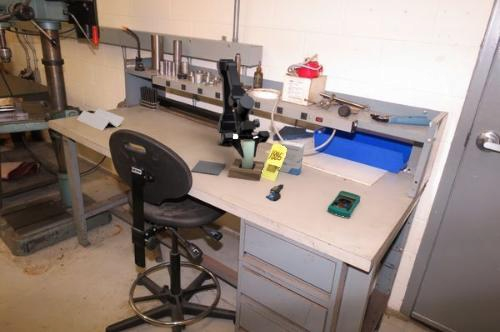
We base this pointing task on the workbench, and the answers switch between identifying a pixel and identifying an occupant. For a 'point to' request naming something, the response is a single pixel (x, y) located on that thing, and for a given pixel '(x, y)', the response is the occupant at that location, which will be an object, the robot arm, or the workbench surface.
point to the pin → (248, 154)
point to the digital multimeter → (344, 204)
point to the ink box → (293, 158)
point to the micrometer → (275, 193)
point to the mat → (208, 167)
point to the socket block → (246, 170)
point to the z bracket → (100, 119)
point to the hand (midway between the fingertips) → (249, 157)
